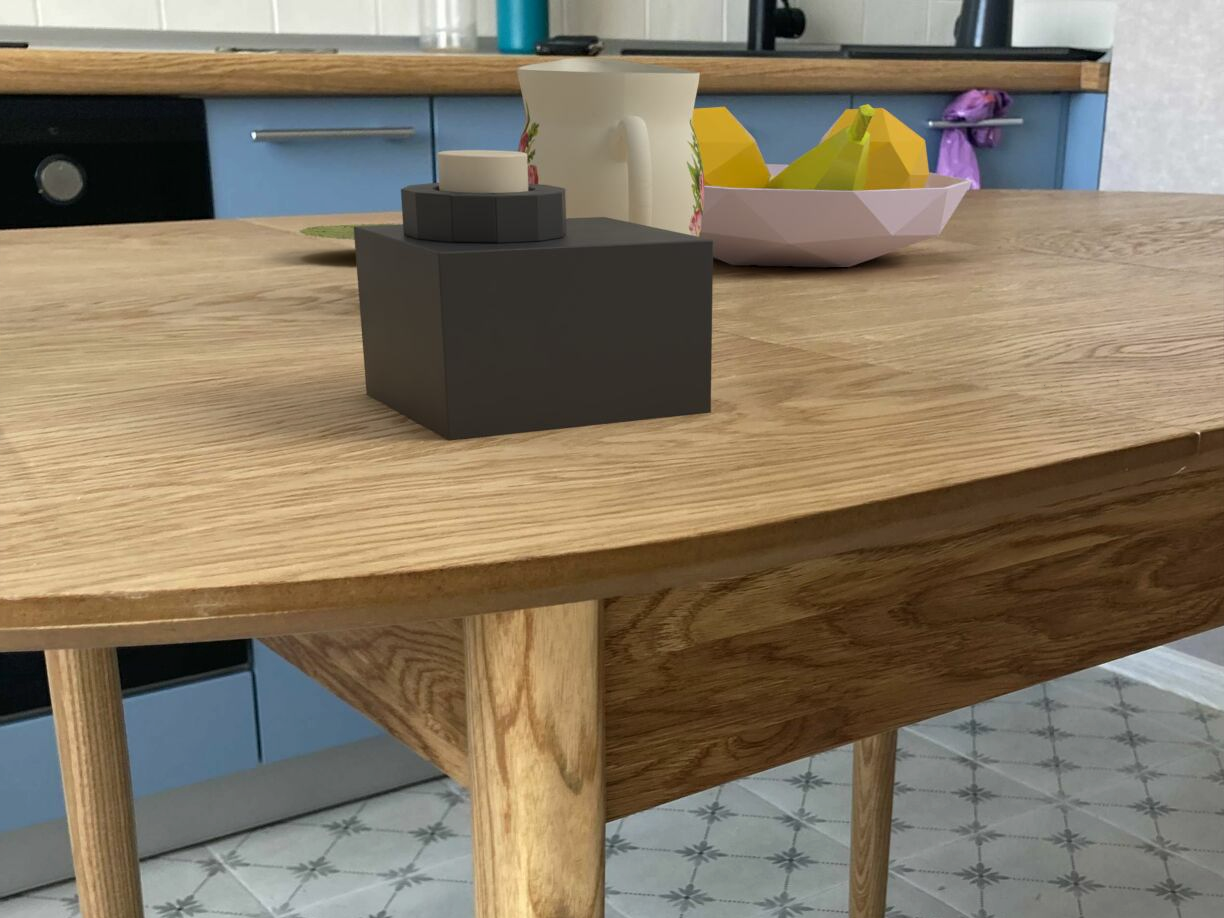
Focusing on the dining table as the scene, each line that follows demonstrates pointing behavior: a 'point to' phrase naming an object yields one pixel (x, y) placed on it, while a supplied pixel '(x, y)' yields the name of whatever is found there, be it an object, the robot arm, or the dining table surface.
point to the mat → (335, 231)
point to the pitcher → (615, 140)
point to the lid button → (482, 171)
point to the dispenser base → (531, 315)
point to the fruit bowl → (820, 193)
